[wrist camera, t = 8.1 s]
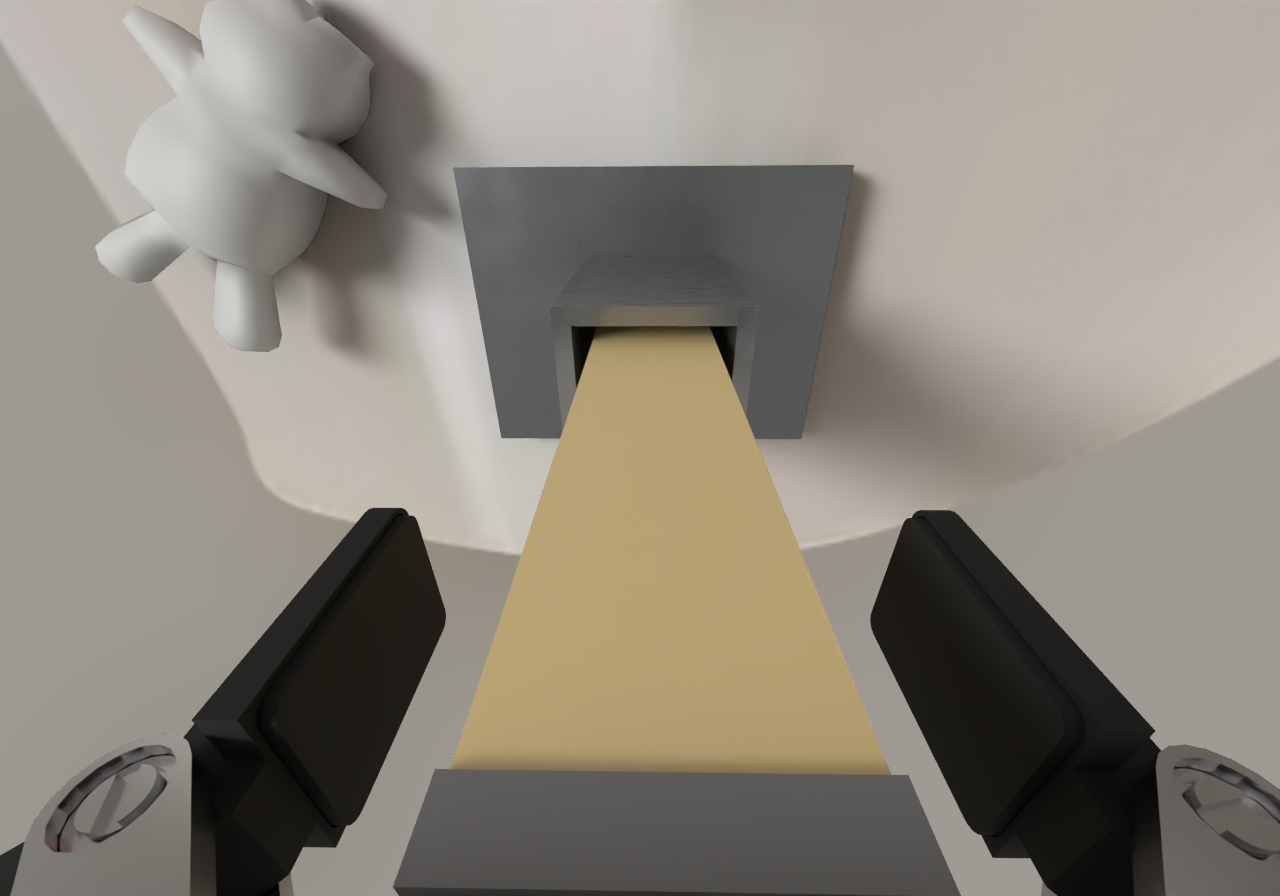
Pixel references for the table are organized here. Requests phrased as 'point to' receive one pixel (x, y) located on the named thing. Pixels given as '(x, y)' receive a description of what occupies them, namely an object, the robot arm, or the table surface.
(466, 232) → the sleeve
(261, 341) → the grey toy animal
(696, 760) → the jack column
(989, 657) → the robot arm
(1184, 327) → the table surface
